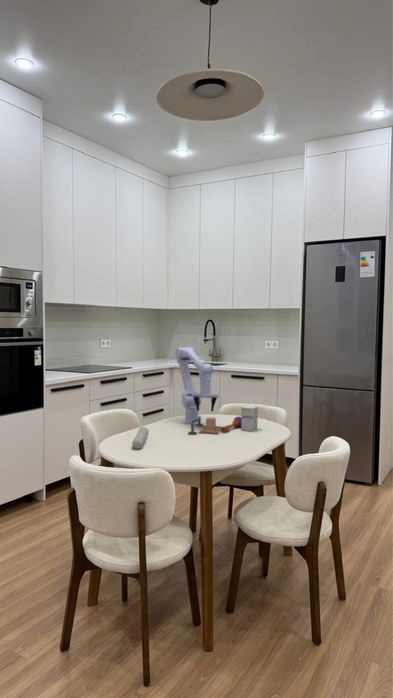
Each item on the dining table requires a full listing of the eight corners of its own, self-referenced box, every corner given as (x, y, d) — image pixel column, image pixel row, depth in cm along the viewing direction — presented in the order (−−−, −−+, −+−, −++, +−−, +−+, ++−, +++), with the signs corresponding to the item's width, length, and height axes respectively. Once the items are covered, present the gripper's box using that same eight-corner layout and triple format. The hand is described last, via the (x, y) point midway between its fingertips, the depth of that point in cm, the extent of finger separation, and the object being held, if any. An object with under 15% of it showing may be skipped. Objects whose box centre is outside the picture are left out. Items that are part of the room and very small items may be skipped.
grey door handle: (196, 424, 266) (196, 415, 266) (203, 425, 265) (203, 415, 265) (187, 434, 243) (187, 424, 242) (195, 435, 242) (195, 424, 242)
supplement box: (240, 430, 253) (241, 407, 252) (244, 427, 259) (244, 404, 259) (254, 431, 250) (254, 408, 249) (257, 429, 257) (258, 405, 256)
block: (207, 428, 255) (207, 417, 255) (215, 428, 254) (215, 417, 254) (205, 430, 251) (205, 418, 250) (214, 430, 250) (214, 419, 249)
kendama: (217, 424, 249) (235, 415, 265) (219, 436, 249) (237, 426, 266) (227, 424, 246) (244, 415, 262) (229, 435, 246) (246, 425, 262)
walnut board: (204, 426, 261) (204, 425, 261) (222, 427, 259) (222, 426, 259) (198, 433, 246) (198, 432, 246) (217, 434, 244) (218, 433, 244)
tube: (144, 442, 213) (150, 428, 238) (133, 438, 213) (140, 425, 238) (140, 453, 214) (146, 438, 239) (129, 449, 214) (136, 435, 239)
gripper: (190, 386, 254) (190, 411, 255) (217, 387, 252) (217, 412, 252) (193, 384, 261) (193, 409, 262) (219, 385, 258) (219, 410, 259)
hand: (205, 410), depth 258 cm, fingers open, 7 cm apart
